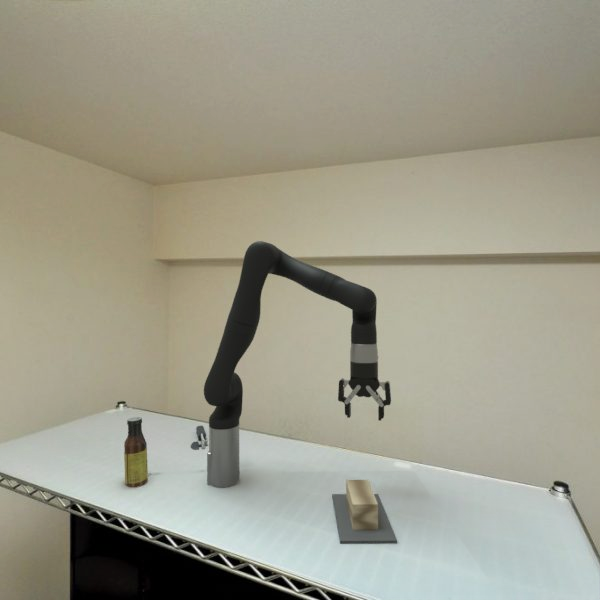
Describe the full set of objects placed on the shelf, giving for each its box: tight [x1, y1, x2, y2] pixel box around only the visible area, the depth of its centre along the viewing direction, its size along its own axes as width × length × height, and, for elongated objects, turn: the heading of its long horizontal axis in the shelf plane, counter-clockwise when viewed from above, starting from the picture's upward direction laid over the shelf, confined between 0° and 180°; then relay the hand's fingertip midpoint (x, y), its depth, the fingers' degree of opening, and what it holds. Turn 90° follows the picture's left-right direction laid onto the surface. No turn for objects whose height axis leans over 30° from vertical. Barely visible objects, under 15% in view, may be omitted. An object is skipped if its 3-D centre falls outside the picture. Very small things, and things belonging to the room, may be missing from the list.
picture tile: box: [331, 493, 398, 545], centre depth 92 cm, size 13×20×1 cm, turn 0°
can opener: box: [190, 425, 209, 451], centre depth 140 cm, size 19×6×5 cm, turn 16°
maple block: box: [345, 479, 378, 530], centre depth 92 cm, size 6×12×6 cm, turn 0°
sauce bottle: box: [123, 416, 149, 488], centre depth 109 cm, size 7×6×20 cm
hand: (364, 418), depth 100 cm, fingers open, 8 cm apart
